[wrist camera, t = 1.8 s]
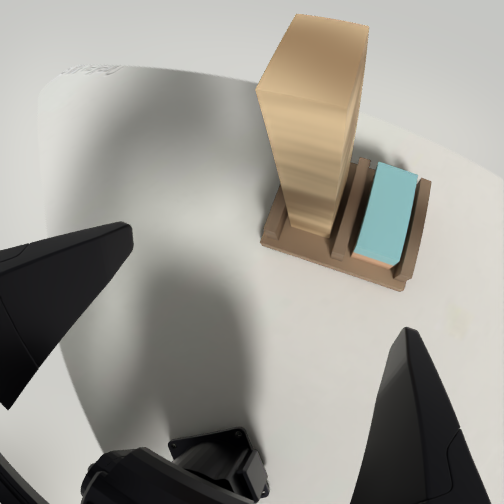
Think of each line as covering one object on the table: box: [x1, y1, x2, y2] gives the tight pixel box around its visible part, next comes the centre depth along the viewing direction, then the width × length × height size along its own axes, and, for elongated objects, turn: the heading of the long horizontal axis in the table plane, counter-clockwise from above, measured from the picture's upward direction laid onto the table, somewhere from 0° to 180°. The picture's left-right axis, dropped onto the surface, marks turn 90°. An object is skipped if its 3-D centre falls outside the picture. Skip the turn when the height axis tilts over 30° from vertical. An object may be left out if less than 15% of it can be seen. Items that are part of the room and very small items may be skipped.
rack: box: [260, 157, 431, 292], centre depth 21 cm, size 8×11×3 cm
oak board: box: [255, 14, 369, 238], centre depth 15 cm, size 4×3×14 cm, turn 159°
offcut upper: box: [354, 162, 418, 266], centre depth 19 cm, size 6×3×2 cm, turn 159°
